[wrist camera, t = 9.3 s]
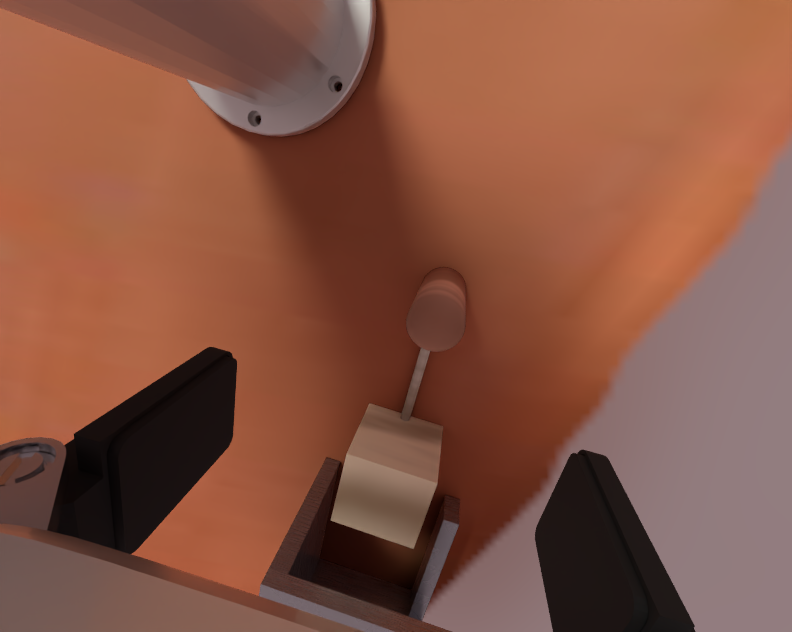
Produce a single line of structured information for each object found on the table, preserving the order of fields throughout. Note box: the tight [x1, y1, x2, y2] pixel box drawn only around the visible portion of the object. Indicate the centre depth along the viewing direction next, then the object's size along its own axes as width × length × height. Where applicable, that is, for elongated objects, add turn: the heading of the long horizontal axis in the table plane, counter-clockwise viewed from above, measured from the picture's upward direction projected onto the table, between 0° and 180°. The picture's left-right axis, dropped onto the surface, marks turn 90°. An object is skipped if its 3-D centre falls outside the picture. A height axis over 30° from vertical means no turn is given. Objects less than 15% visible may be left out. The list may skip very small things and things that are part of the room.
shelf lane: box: [259, 458, 460, 632], centre depth 29 cm, size 13×12×11 cm
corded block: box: [331, 267, 466, 549], centre depth 25 cm, size 18×6×7 cm, turn 166°
